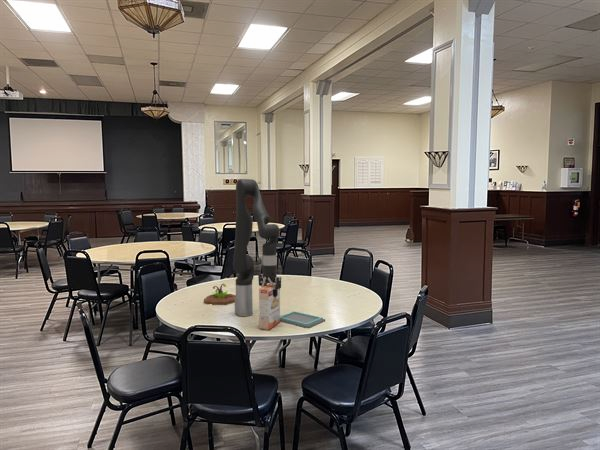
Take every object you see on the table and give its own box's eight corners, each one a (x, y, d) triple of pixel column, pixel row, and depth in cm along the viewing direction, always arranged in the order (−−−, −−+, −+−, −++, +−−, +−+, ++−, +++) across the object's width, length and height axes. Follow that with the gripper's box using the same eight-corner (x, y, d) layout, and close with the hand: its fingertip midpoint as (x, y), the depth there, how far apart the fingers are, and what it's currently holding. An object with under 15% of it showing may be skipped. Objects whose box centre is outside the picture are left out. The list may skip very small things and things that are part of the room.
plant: (230, 306, 260) (230, 288, 259) (199, 304, 264) (199, 286, 263) (241, 298, 280) (241, 280, 279) (212, 296, 284) (212, 279, 283)
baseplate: (275, 320, 232) (275, 316, 232) (293, 313, 244) (293, 310, 244) (308, 328, 219) (308, 324, 219) (325, 321, 230) (325, 317, 230)
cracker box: (269, 330, 216) (268, 289, 214) (258, 329, 218) (258, 288, 216) (281, 322, 229) (280, 283, 227) (270, 321, 231) (270, 282, 229)
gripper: (254, 263, 222) (254, 294, 223) (275, 266, 213) (275, 299, 214) (264, 261, 228) (264, 292, 229) (285, 264, 219) (285, 296, 220)
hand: (269, 295), depth 222 cm, fingers closed on cracker box, 7 cm apart
